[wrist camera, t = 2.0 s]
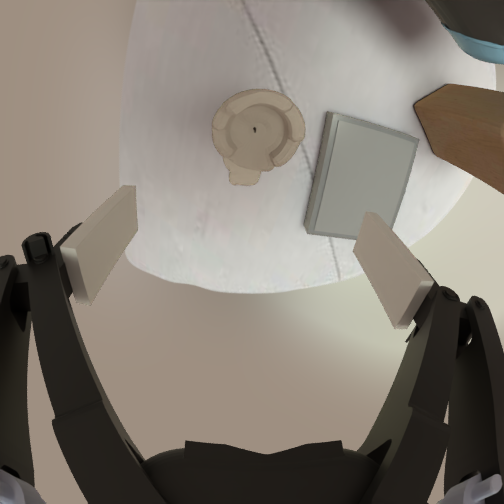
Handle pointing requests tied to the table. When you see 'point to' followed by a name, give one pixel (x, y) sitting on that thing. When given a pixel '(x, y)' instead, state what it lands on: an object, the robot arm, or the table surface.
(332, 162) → the grey flat block
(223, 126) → the candle
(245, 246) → the table surface
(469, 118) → the wooden block
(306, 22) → the table surface
